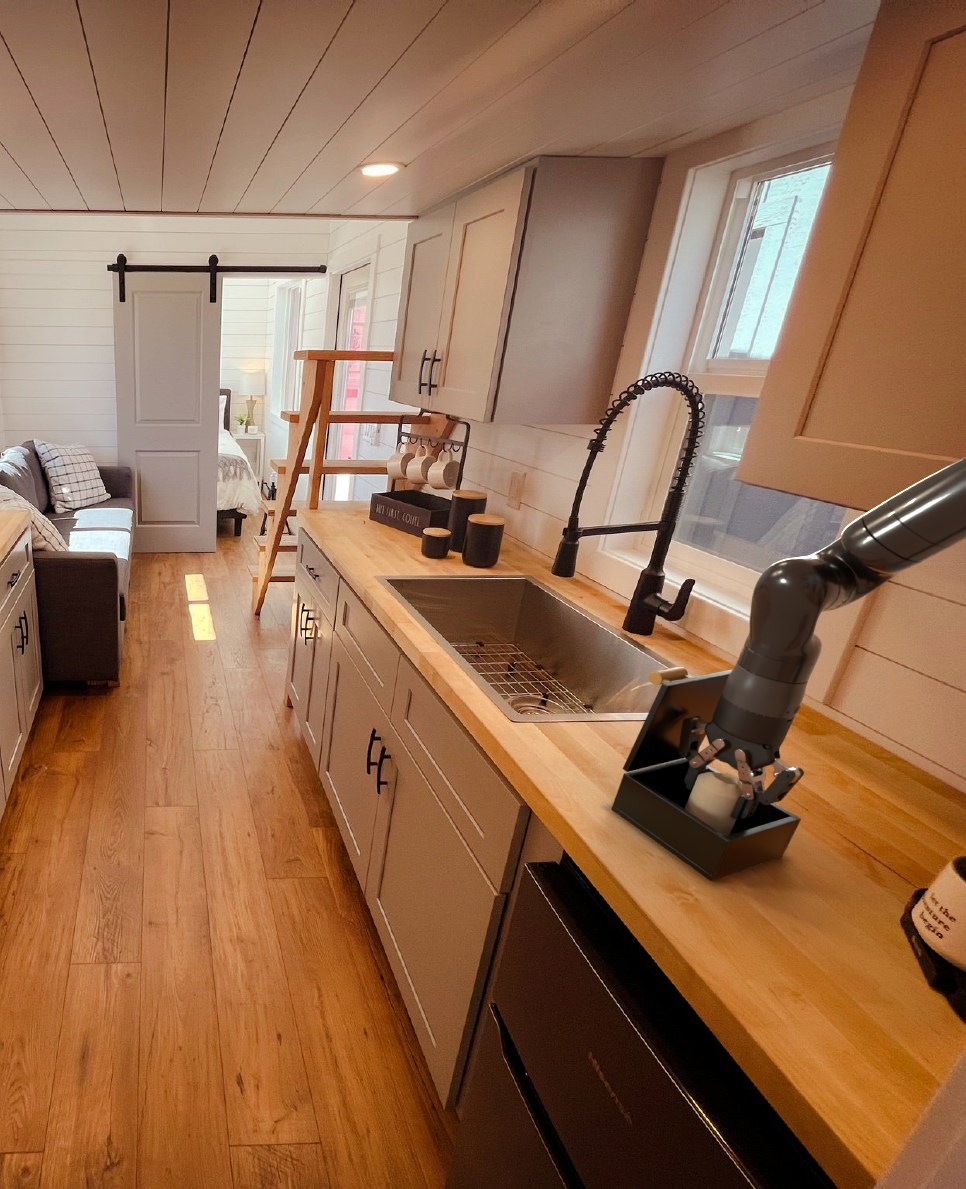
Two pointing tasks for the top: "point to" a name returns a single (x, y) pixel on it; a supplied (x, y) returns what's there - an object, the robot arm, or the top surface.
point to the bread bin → (700, 823)
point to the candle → (715, 800)
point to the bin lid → (674, 714)
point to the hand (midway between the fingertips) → (715, 802)
